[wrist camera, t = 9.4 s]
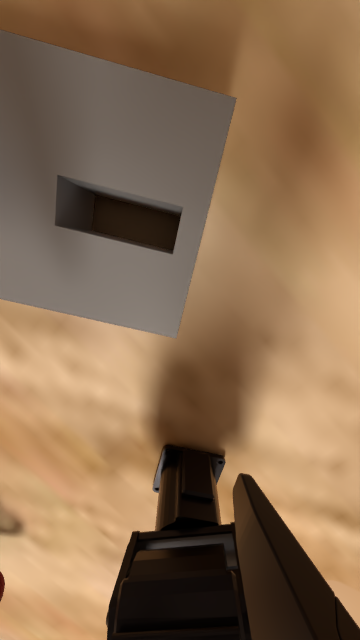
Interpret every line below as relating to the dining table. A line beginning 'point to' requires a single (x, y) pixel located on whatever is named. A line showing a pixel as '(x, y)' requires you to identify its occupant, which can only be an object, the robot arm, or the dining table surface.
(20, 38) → the socket board
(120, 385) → the dining table surface
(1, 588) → the mug
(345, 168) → the dining table surface
